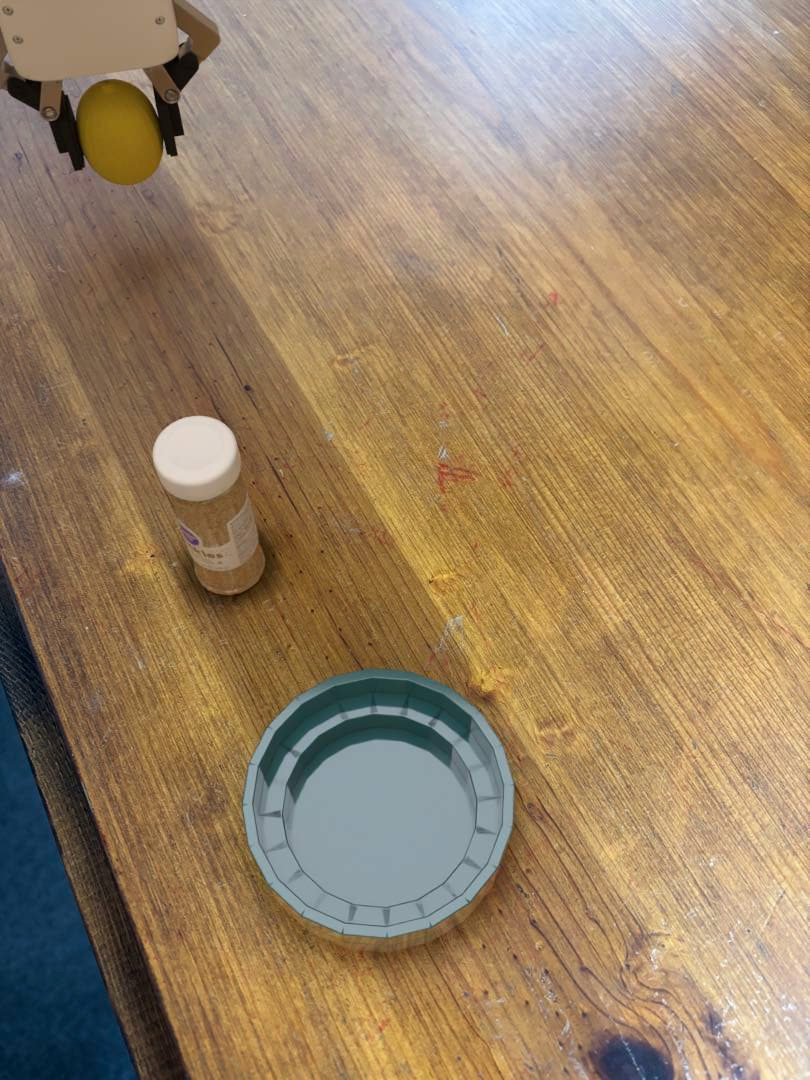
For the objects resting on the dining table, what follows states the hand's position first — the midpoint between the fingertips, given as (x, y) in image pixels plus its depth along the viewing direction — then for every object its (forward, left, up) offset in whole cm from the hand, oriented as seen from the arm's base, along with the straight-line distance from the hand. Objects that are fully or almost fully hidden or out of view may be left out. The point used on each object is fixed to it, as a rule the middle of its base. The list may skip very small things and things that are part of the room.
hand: (124, 148), depth 72 cm
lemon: (0, 0, -3) cm, 3 cm away
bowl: (+7, -46, -11) cm, 47 cm away
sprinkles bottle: (+2, -27, -11) cm, 30 cm away
